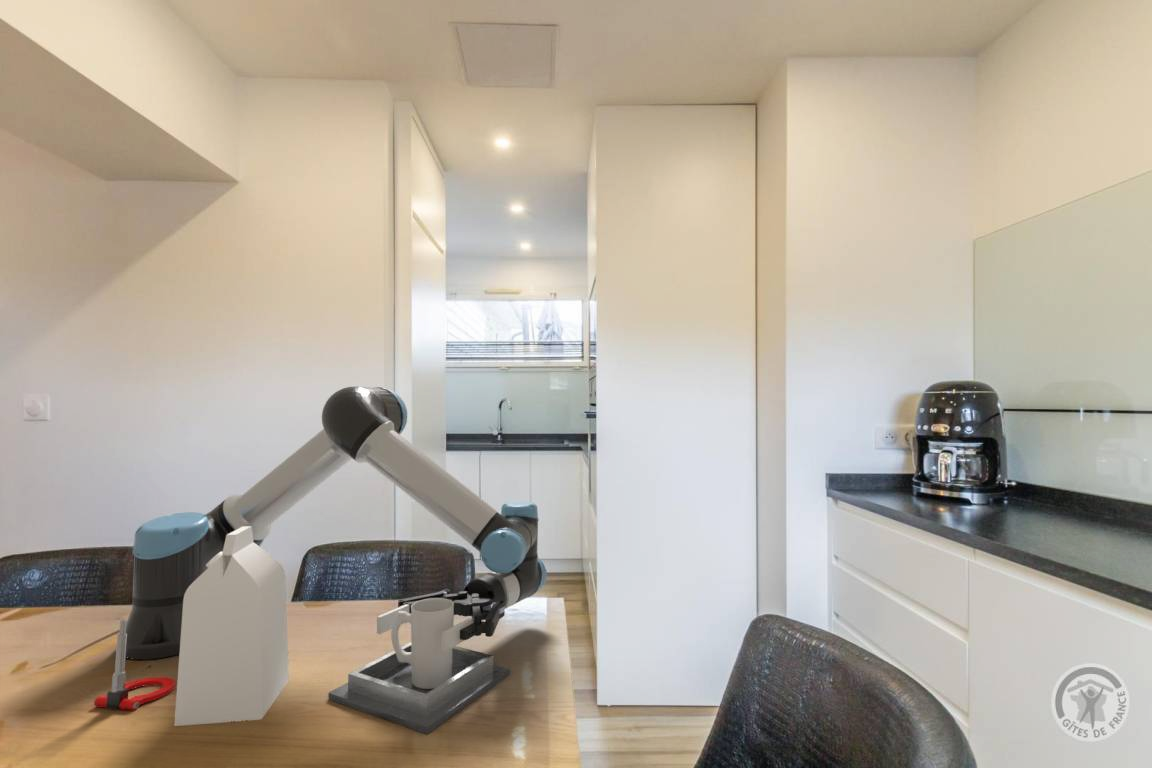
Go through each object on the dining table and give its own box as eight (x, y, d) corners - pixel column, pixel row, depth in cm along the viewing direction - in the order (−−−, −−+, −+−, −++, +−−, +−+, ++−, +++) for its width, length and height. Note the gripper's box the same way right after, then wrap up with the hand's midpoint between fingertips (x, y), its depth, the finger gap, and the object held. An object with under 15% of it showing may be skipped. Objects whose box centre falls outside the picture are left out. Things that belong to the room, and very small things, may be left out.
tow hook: (142, 682, 96) (87, 708, 87) (148, 601, 97) (94, 619, 88) (187, 686, 95) (136, 713, 86) (192, 605, 96) (142, 623, 86)
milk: (261, 719, 84) (264, 538, 85) (174, 726, 82) (178, 540, 83) (289, 680, 96) (291, 521, 97) (213, 685, 94) (216, 523, 95)
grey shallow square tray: (328, 699, 90) (328, 676, 90) (419, 650, 107) (420, 631, 107) (427, 734, 80) (427, 708, 80) (509, 674, 98) (509, 653, 98)
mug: (457, 670, 97) (458, 598, 97) (447, 690, 90) (448, 612, 91) (398, 669, 97) (399, 597, 98) (383, 689, 91) (384, 611, 91)
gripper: (547, 626, 104) (473, 675, 85) (439, 602, 116) (353, 641, 97) (547, 583, 104) (473, 623, 85) (440, 565, 116) (354, 596, 97)
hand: (409, 633), depth 91 cm, fingers open, 13 cm apart
